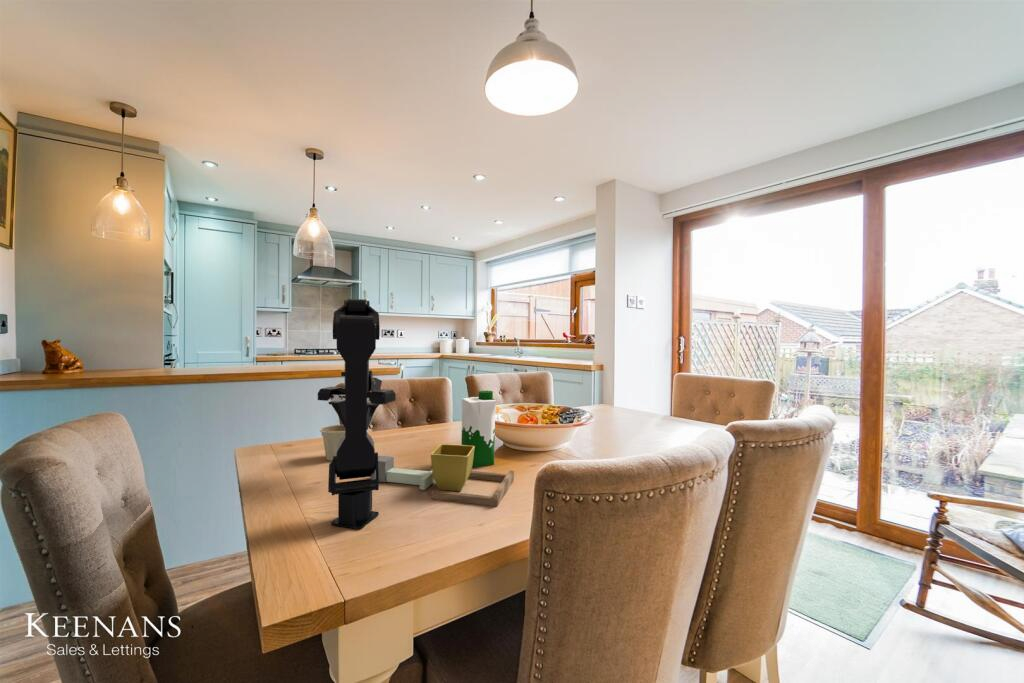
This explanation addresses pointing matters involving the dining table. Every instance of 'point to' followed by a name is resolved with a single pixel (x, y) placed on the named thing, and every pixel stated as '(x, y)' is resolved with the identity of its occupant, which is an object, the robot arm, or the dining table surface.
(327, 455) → the flower pot
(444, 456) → the flower pot
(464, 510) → the dining table surface
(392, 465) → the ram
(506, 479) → the bay
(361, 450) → the robot arm
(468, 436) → the milk carton
